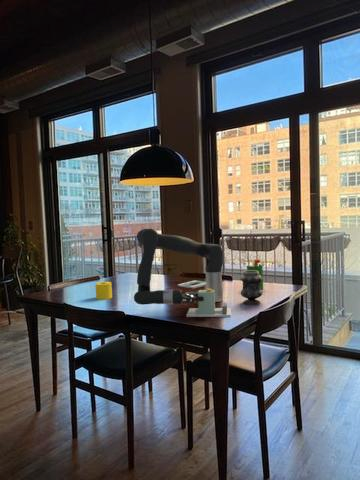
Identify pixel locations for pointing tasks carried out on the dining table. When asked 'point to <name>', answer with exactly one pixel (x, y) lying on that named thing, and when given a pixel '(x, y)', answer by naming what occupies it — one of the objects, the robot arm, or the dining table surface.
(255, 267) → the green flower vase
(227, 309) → the din plate
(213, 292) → the block
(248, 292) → the apothecary jar
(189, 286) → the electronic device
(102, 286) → the yellow cylindrical piece
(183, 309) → the dining table surface
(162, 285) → the dining table surface
